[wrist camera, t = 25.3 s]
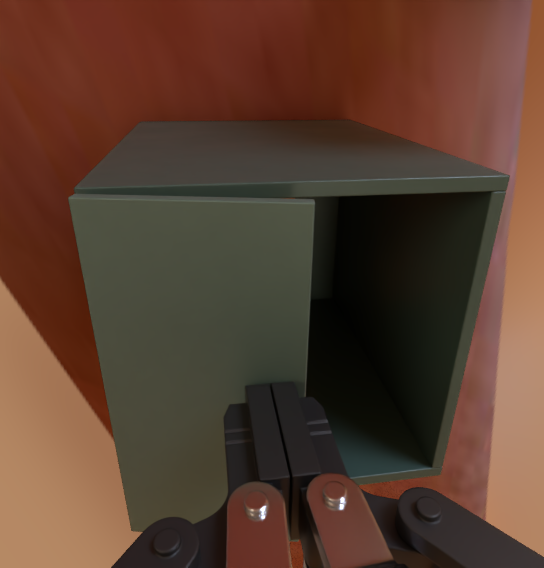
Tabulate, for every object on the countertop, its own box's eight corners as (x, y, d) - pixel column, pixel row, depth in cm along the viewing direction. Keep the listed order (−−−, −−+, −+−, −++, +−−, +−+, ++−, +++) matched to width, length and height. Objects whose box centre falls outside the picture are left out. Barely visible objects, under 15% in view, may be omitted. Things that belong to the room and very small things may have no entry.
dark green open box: (161, 312, 33) (133, 513, 18) (139, 121, 27) (73, 187, 12) (336, 300, 34) (440, 475, 20) (350, 119, 29) (510, 175, 14)
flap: (134, 522, 18) (131, 531, 17) (74, 193, 12) (66, 197, 12) (298, 532, 17) (298, 542, 17) (314, 198, 12) (315, 203, 11)
